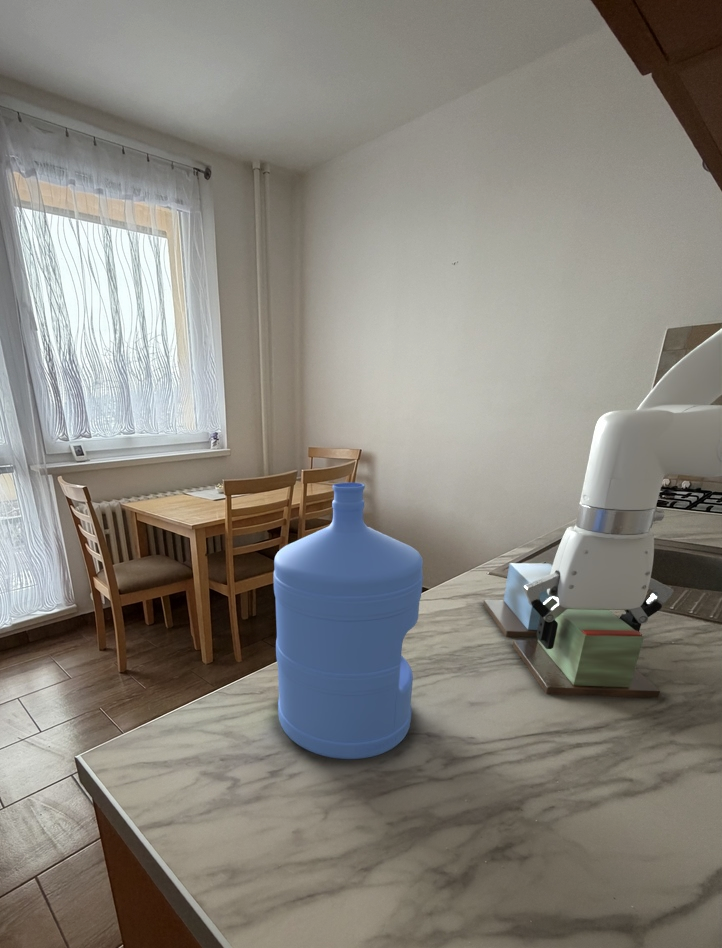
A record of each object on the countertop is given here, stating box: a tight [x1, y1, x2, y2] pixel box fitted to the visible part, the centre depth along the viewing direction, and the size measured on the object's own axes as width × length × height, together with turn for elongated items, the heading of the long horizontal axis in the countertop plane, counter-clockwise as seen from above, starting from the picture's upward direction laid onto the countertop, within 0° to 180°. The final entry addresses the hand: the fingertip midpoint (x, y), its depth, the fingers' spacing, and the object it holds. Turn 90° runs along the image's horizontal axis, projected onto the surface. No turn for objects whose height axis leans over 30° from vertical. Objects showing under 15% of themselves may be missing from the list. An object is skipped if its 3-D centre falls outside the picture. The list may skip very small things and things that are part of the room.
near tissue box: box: [537, 598, 644, 687], centre depth 64 cm, size 12×6×7 cm, turn 173°
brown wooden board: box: [512, 639, 661, 699], centre depth 66 cm, size 13×13×2 cm
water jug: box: [272, 482, 424, 760], centre depth 53 cm, size 16×16×28 cm
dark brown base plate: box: [482, 599, 537, 638], centre depth 81 cm, size 13×13×2 cm
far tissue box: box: [503, 562, 553, 630], centre depth 79 cm, size 12×6×7 cm, turn 173°
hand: (583, 645), depth 65 cm, fingers open, 9 cm apart
